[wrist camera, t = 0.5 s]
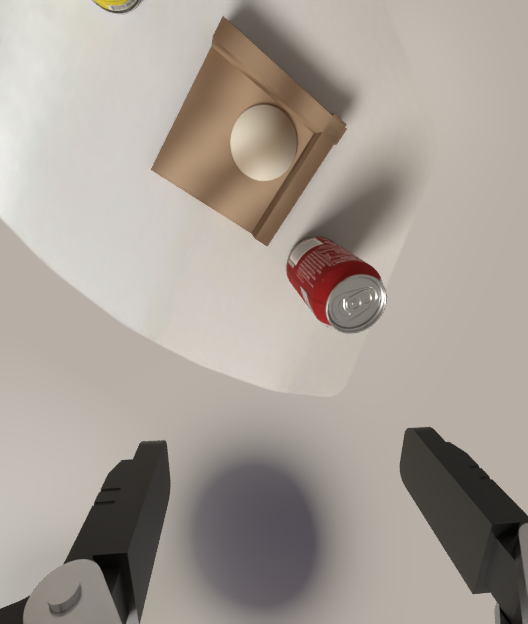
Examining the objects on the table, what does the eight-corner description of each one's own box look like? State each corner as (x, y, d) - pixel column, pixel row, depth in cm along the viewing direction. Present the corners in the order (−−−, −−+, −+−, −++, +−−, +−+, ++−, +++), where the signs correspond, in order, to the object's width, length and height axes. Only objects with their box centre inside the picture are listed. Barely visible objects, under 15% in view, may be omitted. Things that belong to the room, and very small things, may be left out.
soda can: (275, 251, 36) (308, 290, 26) (329, 225, 36) (384, 253, 26) (296, 299, 39) (333, 351, 29) (345, 275, 39) (400, 319, 29)
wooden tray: (152, 169, 30) (147, 170, 27) (221, 28, 27) (224, 12, 24) (263, 239, 35) (269, 247, 32) (333, 129, 32) (348, 126, 29)
